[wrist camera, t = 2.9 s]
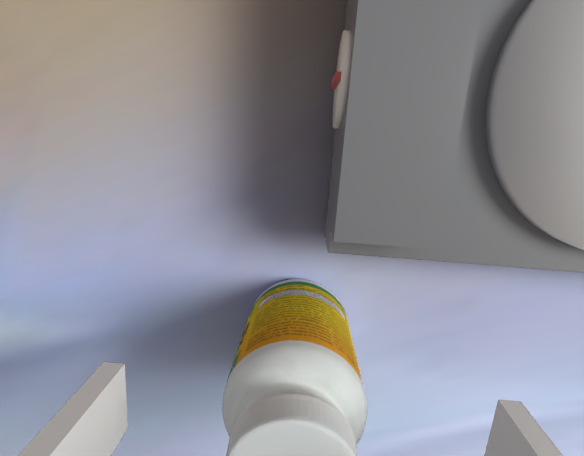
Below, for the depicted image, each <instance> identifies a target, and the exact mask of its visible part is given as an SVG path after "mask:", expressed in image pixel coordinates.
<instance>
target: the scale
mask: <svg viewBox="0 0 584 456" xmlns="http://www.w3.org/2000/svg"><path fill="white" fill-rule="evenodd" d="M331 90H334V100H333V128H335V133H334V143H333V153H332V164H331V174H330V185H329V195H328V206H327V216H326V227H325V239H326V244H327V249H328V252H329V253H341V254H354V255H367V256H380V257H392V258H405V259H418V260H430V261H443V262H456V263H469V264H481V265H494V266H507V267H520V268H532V269H545V270H558V271H570V272H583V273H584V0H347V7H346V18H345V28H344V31H343V33H342V37H341V42H340V47H339V54H338V61H337V69H336V73H335V75H334V77H333V79H332V81H331Z"/></svg>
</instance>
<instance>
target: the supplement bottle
mask: <svg viewBox="0 0 584 456" xmlns="http://www.w3.org/2000/svg"><path fill="white" fill-rule="evenodd" d="M222 408H223V418H224V423H225V426H226V429H227V432H228V434H229V437H230V438H229V444H228V449H227V454H226V456H357V453H356V445H357V444H358V442H359V440H360V438H361V436H362V434H363V431H364V428H365V423H366V418H367V401H366V396H365V391H364V387H363V383H362V378H361V374H360V370H359V366H358V362H357V357H356V353H355V349H354V345H353V340H352V336H351V331H350V327H349V323H348V319H347V314H346V312H345V309H344V307H343V305H342V303H341V302H340V300H339V299H338V298H337V297H336V296H335V295H334V294H333V293H332V292H331V291H329V290H328V289H327V288H325V287H324V286H322V285H320V284H318V283H316V282H313V281H309V280H304V279H290V280H285V281H281V282H278V283H276V284H274V285H272V286H271V287H269V288H268V289H266V290H265V291H264V292H263V293H262V294H261V295H260V296H259V297H258V299H257V300H256V302H255V303H254V305H253V307H252V309H251V311H250V314H249V317H248V320H247V323H246V326H245V329H244V332H243V335H242V338H241V341H240V344H239V347H238V350H237V353H236V356H235V359H234V362H233V365H232V368H231V371H230V374H229V377H228V380H227V383H226V386H225V391H224V396H223V407H222Z"/></svg>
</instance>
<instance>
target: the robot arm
mask: <svg viewBox="0 0 584 456" xmlns="http://www.w3.org/2000/svg"><path fill="white" fill-rule="evenodd" d="M127 429H128V418H127V398H126V378H125V364H121V363H111V362H103V363H102V364H101V365H100V366H99V368H98V369H97V370H96V371H95V372H94V373H93V374H92V375H91V376H90V377H89V378H88V380H87V381H86V382H85V383H84V384H83V385H82V386H81V387H80V388H79V389H78V391H77V392H76V393H75V394H74V395H73V396H72V397H71V398H70V399H69V400H68V401H67V403H66V404H65V405H64V406H63V407H62V408H61V409H60V410H59V411H58V412H57V413H56V415H55V416H54V417H53V418H52V419H51V420H50V421H49V422H48V423H47V424H46V425H45V427H44V428H43V429H42V430H41V431H40V432H39V433H38V434H37V435H36V436H35V437H34V439H33V440H32V441H31V442H30V443H29V444H28V445H27V446H26V447H25V448H24V449H23V451H22V452H21V453H20V454H19V455H18V456H111V454H112V453H113V451H114V449H115V448H116V446H117V445H118V443H119V442H120V440H121V438H122V437H123V435H124V434H125V432H126V430H127ZM484 456H563V455H562V453H561V452H560V451H559V450H558V448H557V447H556V446H555V444H554V443H553V442H552V441H551V439H550V438H549V437H548V436H547V434H546V433H545V432H544V430H543V429H542V428H541V427H540V425H539V424H538V423H537V421H536V420H535V419H534V418H533V416H532V415H531V414H530V413H529V411H528V410H527V409H526V407H525V406H524V405H523V404H522V402H519V401H509V400H498V403H497V407H496V411H495V415H494V419H493V423H492V427H491V431H490V435H489V439H488V443H487V447H486V451H485V455H484Z"/></svg>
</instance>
